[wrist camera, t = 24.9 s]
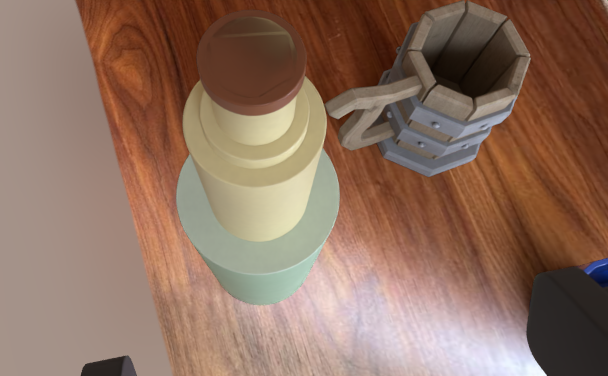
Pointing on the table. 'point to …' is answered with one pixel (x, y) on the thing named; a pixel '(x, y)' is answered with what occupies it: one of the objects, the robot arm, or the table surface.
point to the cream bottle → (254, 124)
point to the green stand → (259, 255)
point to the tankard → (438, 90)
